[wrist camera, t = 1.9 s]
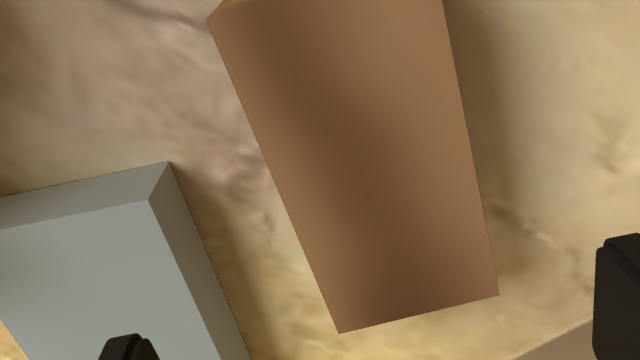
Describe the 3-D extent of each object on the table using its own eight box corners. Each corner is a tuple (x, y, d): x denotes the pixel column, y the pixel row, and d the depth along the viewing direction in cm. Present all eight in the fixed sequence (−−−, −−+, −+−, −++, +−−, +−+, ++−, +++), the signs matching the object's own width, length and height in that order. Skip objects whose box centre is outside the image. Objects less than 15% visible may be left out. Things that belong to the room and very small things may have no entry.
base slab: (168, 161, 20) (147, 199, 18) (262, 386, 27) (257, 438, 24) (-11, 199, 21) (-57, 241, 19) (123, 409, 28) (104, 462, 25)
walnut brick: (399, -69, 17) (430, -59, 12) (463, 217, 22) (499, 294, 18) (232, -10, 18) (205, 19, 13) (333, 252, 23) (339, 333, 19)
